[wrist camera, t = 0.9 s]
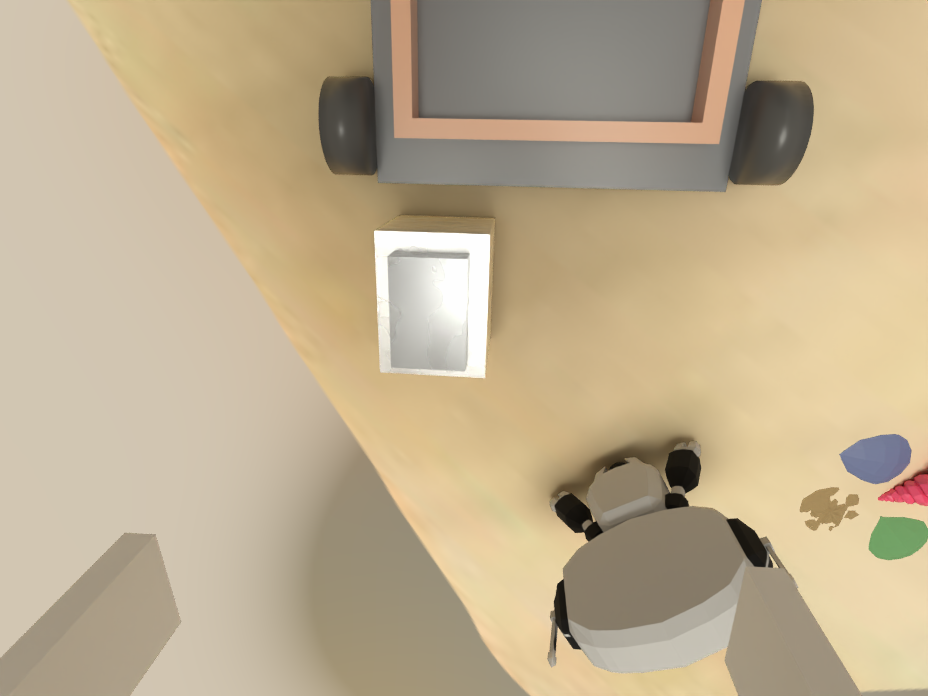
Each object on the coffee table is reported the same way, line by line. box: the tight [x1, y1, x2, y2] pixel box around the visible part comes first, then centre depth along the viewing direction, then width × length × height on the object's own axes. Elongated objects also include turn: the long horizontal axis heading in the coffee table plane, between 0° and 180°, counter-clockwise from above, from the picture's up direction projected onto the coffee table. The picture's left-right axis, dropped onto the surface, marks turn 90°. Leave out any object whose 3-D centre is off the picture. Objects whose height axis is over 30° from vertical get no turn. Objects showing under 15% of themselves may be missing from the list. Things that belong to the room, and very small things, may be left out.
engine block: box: [374, 215, 495, 378], centre depth 31 cm, size 8×6×8 cm
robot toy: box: [548, 441, 798, 673], centre depth 32 cm, size 12×4×15 cm, turn 120°
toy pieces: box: [800, 434, 928, 560], centre depth 36 cm, size 12×11×4 cm
